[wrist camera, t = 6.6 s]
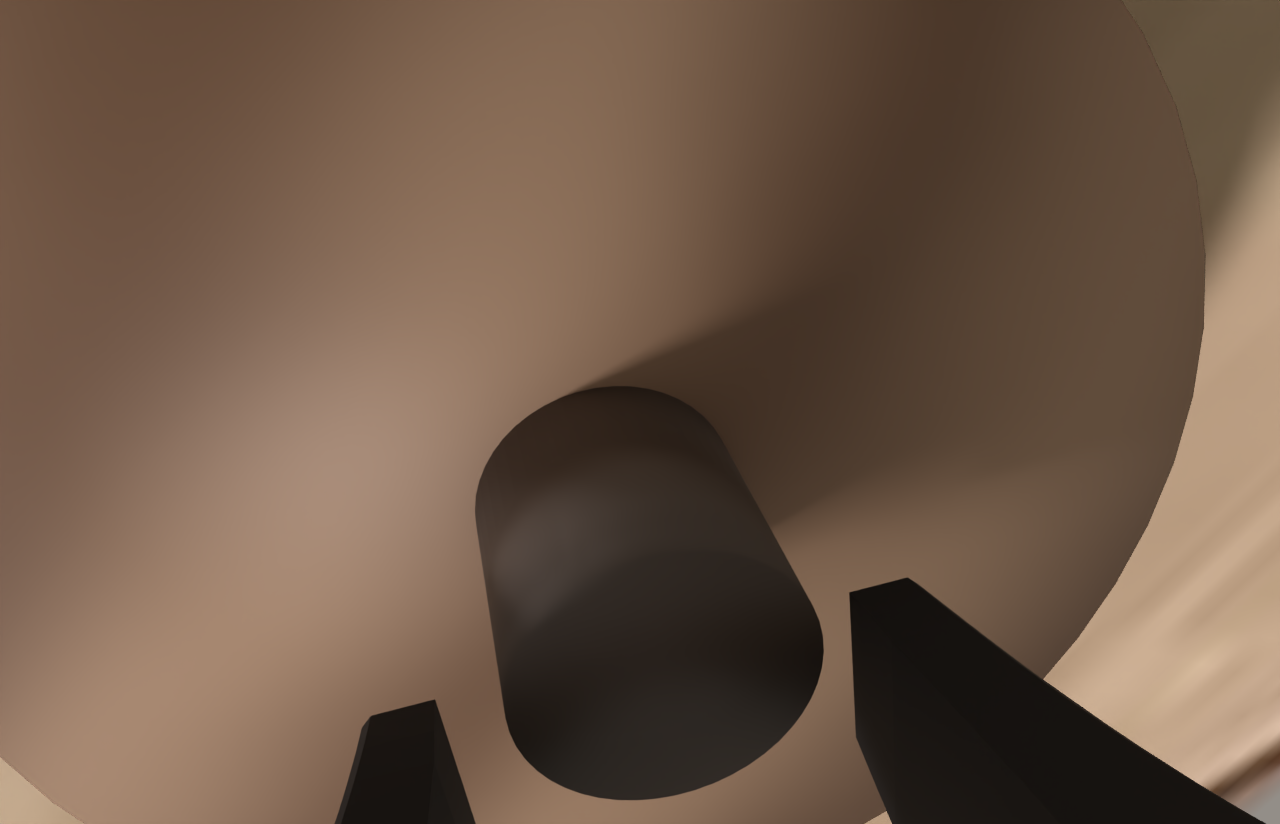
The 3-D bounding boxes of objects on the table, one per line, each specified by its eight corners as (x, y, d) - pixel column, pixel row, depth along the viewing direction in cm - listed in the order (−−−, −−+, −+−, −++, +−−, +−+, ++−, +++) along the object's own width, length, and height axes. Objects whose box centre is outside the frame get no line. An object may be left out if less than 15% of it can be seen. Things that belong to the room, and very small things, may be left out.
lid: (-221, 789, 13) (-423, 1136, 10) (87, -687, 8) (-130, -1062, 4) (796, 923, 19) (891, 1170, 16) (1381, 131, 14) (1722, 245, 10)
